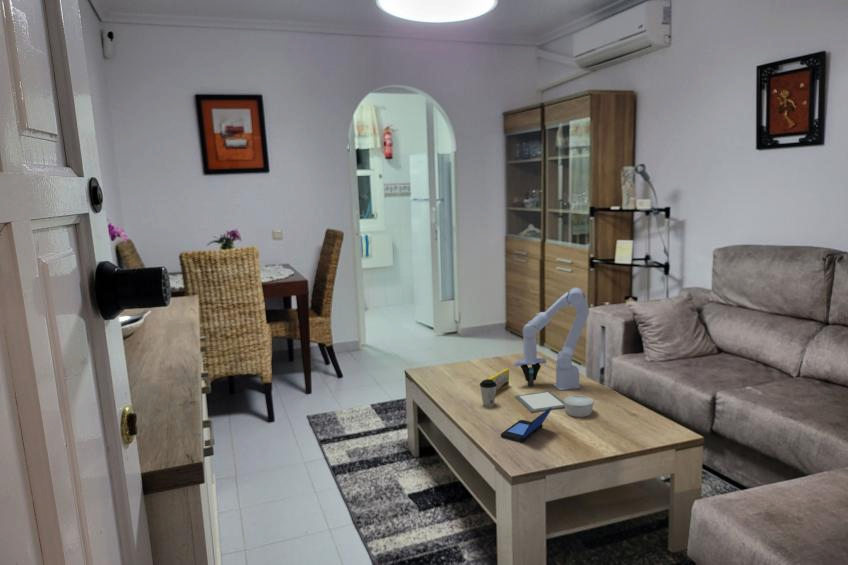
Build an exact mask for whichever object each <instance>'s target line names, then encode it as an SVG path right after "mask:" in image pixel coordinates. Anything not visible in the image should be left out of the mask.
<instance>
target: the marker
mask: <svg viewBox="0 0 848 565" xmlns="http://www.w3.org/2000/svg"><path fill="white" fill-rule="evenodd" d="M528 367H529V381H527V386H528V387H534V386H535V380H534V368H533V367H532V366H528Z"/></svg>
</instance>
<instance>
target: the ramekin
mask: <svg viewBox="0 0 848 565" xmlns="http://www.w3.org/2000/svg"><path fill="white" fill-rule="evenodd" d="M563 402H564V404H565V408H564V409H565V412H566V413H567V415H569V416H571V417H575V418H585V417H588V416H590V415H591V414H592V411H593V405H594V399H593V398H591V397H588V396H585V395H577V394H576V395H575V394H573V395H568V396H566V397H564V399H563Z"/></svg>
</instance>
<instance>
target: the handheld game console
mask: <svg viewBox="0 0 848 565" xmlns="http://www.w3.org/2000/svg"><path fill="white" fill-rule="evenodd" d="M551 409H552V408H549V409H548V410H546V411H543V413H542V412H541V414H540V415H538V416H537V417H535V418H534V419H533V420H532V421H529V420H525V419H520V420H518V421H517V422H515V423H514V424H511V426H509V427H508V428H507V429H505V430H504V431H503V432H501V433H500V437H501V438H503V439H507V440H510V441H513V442H516V443H521V444H523V443H525V441H526V440H527V441H528V439H530V438H531V436H532V435H534V434H536V433H537V432H538V431H540V430H541V429H542V428H543V427H544V426H543V423H544V421H546V418H547V417H548V415H549V414H550V413H551V411H552V410H551Z"/></svg>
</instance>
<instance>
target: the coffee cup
mask: <svg viewBox="0 0 848 565" xmlns="http://www.w3.org/2000/svg"><path fill="white" fill-rule="evenodd" d="M479 386H480V392H481V400H482V405H483V407H486V408H487V407H488V408H489V407H494V406H495V404H496V403H495V402H496V401H495V400H496V394H495V392H496V383H495V382H494V381H493V380H491V379H488V378H486V379H484V380H482V381H481V382H480V383H479Z"/></svg>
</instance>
